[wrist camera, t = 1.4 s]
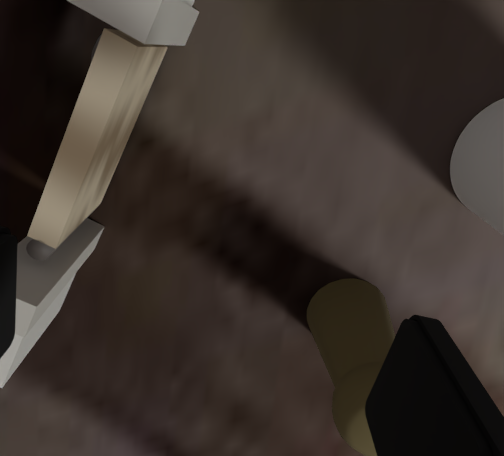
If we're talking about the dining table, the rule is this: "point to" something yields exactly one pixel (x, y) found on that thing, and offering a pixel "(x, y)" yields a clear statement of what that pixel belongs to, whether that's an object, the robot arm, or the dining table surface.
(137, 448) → the dining table surface
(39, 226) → the gate
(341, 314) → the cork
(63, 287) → the wall frame
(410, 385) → the robot arm
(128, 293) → the dining table surface
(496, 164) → the cup
